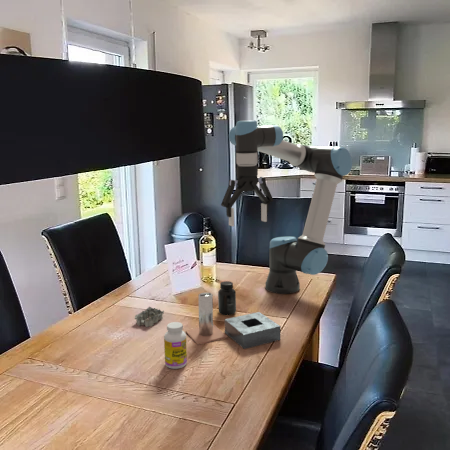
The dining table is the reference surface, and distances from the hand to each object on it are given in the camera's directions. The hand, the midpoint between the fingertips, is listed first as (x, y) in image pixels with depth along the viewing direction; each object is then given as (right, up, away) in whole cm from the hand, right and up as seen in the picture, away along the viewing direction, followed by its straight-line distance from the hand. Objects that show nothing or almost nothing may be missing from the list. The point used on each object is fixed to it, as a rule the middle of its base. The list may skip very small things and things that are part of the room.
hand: (248, 223), depth 171 cm
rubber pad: (-15, -39, -8) cm, 42 cm away
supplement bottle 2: (-7, -35, +12) cm, 37 cm away
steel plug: (-15, -38, -8) cm, 42 cm away
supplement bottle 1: (-23, -43, -28) cm, 56 cm away
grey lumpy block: (-37, -37, +5) cm, 52 cm away
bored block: (+1, -39, -10) cm, 40 cm away
